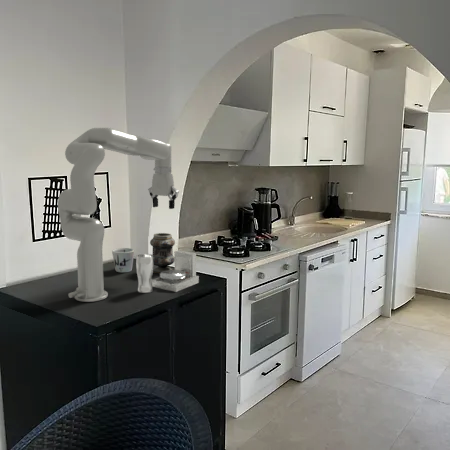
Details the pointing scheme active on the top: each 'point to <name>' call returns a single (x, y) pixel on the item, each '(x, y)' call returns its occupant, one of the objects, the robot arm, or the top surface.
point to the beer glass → (144, 272)
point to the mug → (123, 259)
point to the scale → (182, 262)
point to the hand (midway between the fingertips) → (163, 207)
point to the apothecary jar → (162, 251)
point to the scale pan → (172, 274)
